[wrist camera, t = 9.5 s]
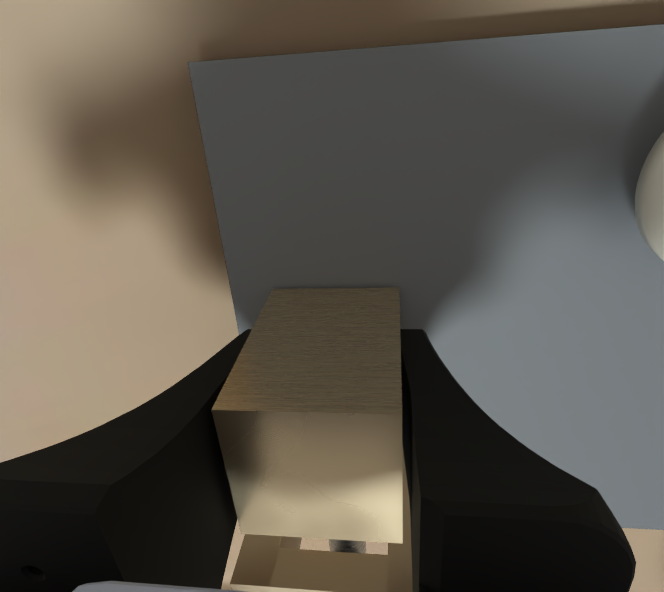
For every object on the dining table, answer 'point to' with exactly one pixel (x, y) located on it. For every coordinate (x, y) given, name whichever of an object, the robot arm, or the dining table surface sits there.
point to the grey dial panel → (461, 240)
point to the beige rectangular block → (318, 418)
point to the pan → (652, 199)
